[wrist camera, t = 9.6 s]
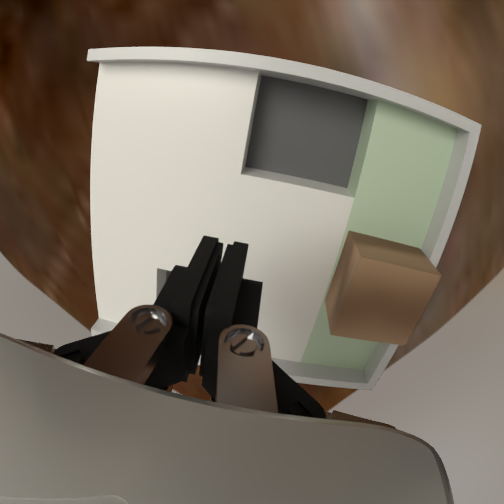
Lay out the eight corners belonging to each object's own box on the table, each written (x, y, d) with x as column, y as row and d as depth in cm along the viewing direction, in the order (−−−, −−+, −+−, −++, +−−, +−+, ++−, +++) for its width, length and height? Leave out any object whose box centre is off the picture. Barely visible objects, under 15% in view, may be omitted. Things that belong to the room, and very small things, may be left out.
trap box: (120, 55, 17) (88, 49, 13) (449, 119, 17) (481, 124, 13) (112, 307, 26) (91, 335, 22) (363, 355, 26) (371, 390, 22)
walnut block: (348, 230, 18) (361, 257, 15) (419, 248, 18) (441, 275, 15) (324, 300, 21) (330, 334, 17) (391, 312, 21) (405, 345, 17)
